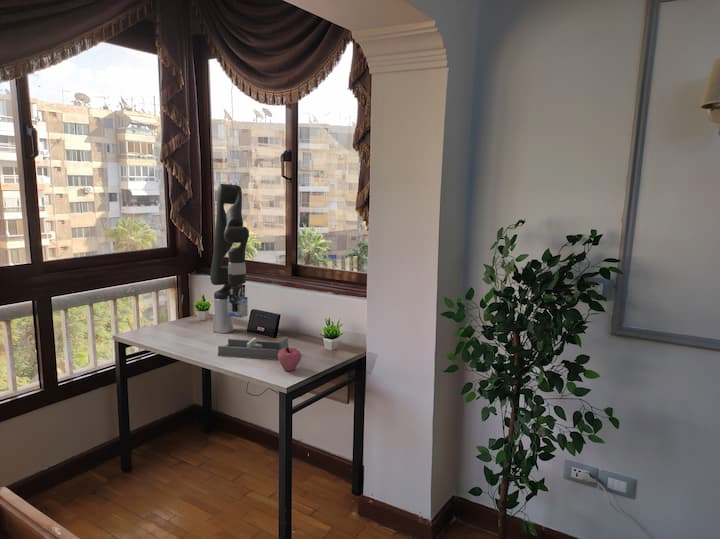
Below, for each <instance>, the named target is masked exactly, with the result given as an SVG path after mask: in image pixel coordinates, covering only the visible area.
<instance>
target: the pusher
mask: <svg viewBox="0 0 720 539" xmlns="http://www.w3.org/2000/svg"><path fill="white" fill-rule="evenodd" d="M250 340H251V341H249V342H248V343H247V348H262V344H257V341H258V340H257V337H253V338H252V339H250Z"/></svg>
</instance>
